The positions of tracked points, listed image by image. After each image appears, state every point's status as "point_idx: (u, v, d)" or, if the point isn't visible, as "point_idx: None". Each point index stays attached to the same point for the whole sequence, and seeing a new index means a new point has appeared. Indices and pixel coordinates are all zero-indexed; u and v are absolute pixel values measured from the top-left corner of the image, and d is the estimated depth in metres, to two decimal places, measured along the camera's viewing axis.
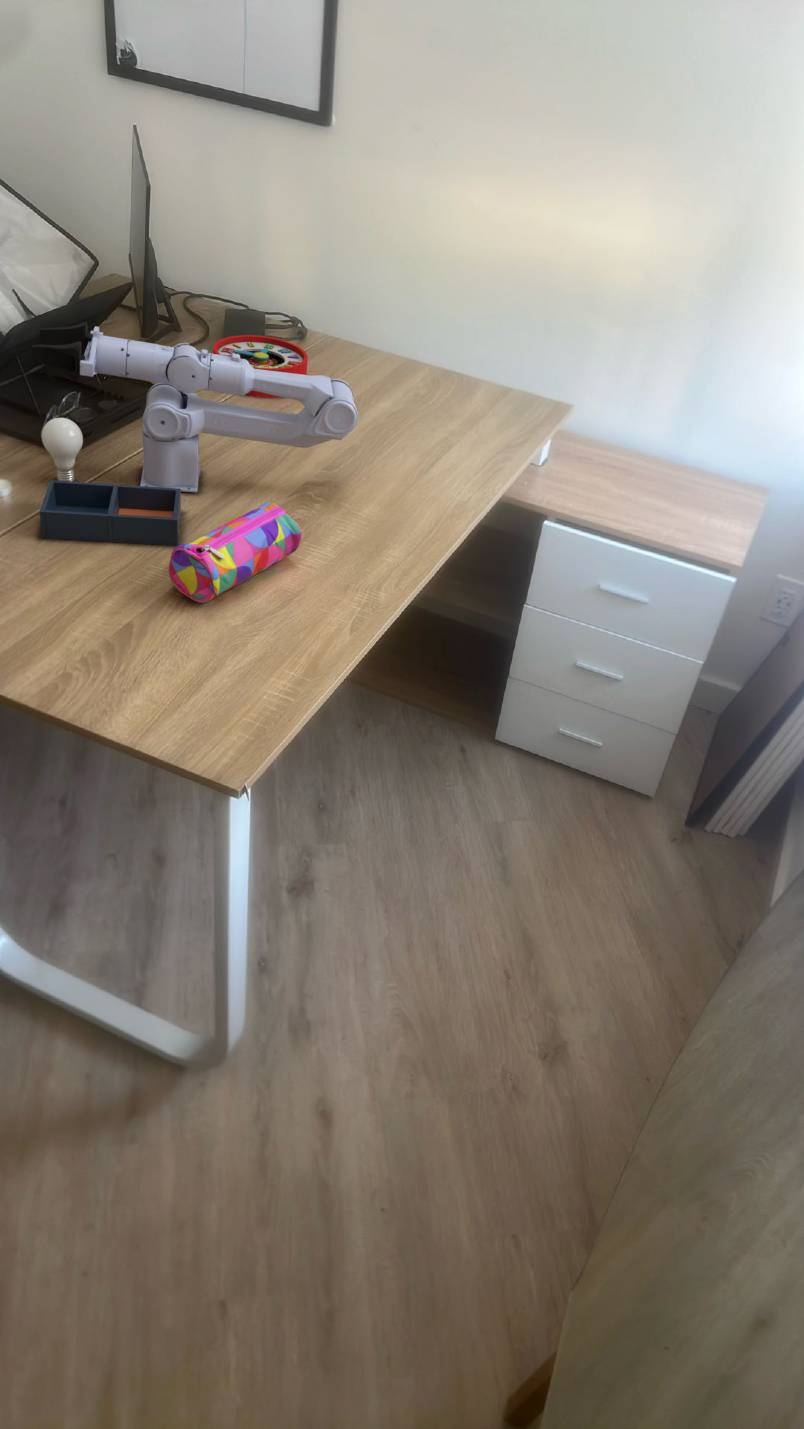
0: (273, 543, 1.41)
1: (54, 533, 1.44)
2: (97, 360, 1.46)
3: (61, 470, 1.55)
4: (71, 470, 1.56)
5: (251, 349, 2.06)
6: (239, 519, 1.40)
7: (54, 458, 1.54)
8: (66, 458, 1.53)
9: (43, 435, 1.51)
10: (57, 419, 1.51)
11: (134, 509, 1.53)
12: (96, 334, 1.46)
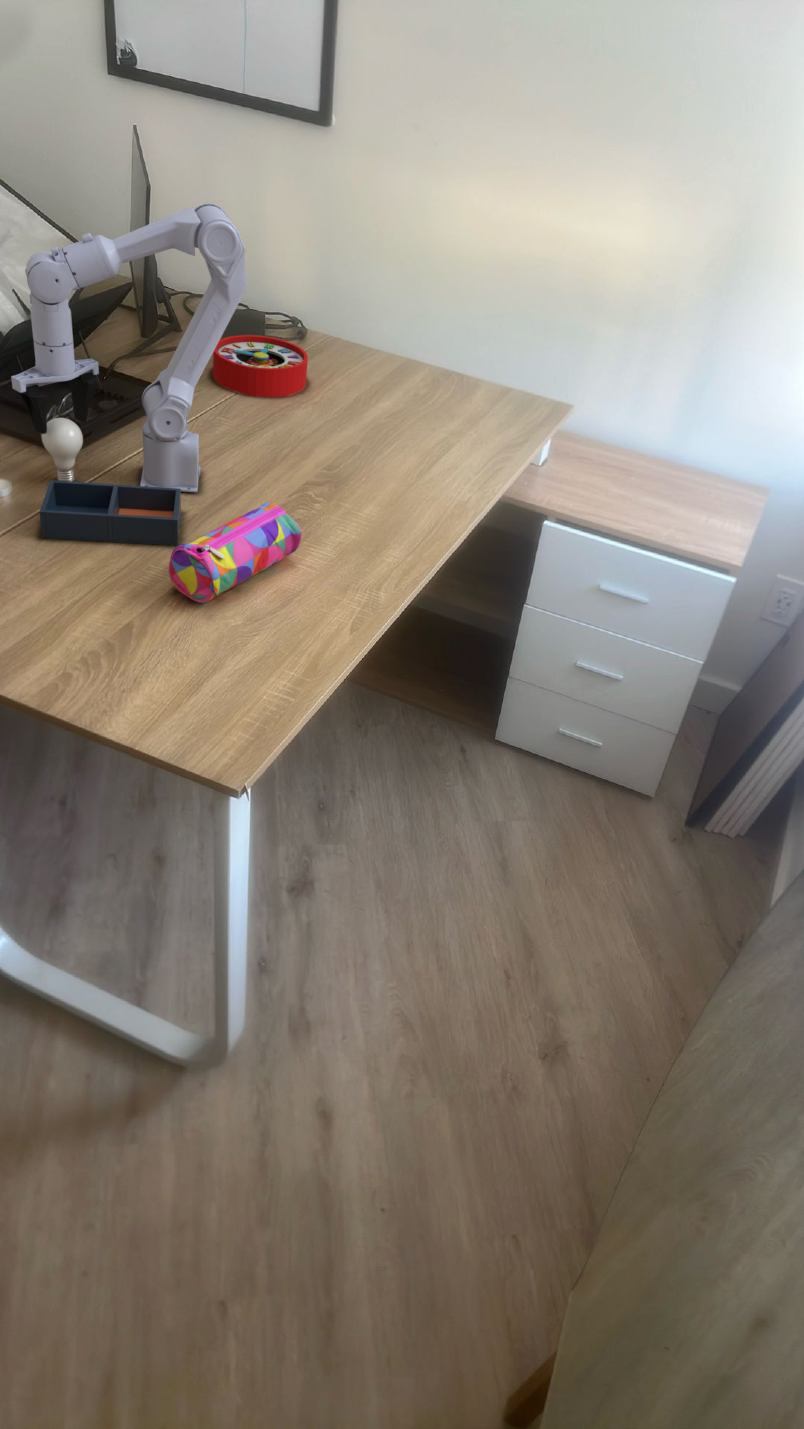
0: (273, 543, 1.41)
1: (54, 533, 1.44)
2: (40, 371, 1.44)
3: (61, 470, 1.55)
4: (71, 470, 1.56)
5: (251, 349, 2.06)
6: (239, 519, 1.40)
7: (54, 458, 1.54)
8: (66, 458, 1.53)
9: (43, 435, 1.51)
10: (57, 419, 1.51)
11: (134, 509, 1.53)
12: None
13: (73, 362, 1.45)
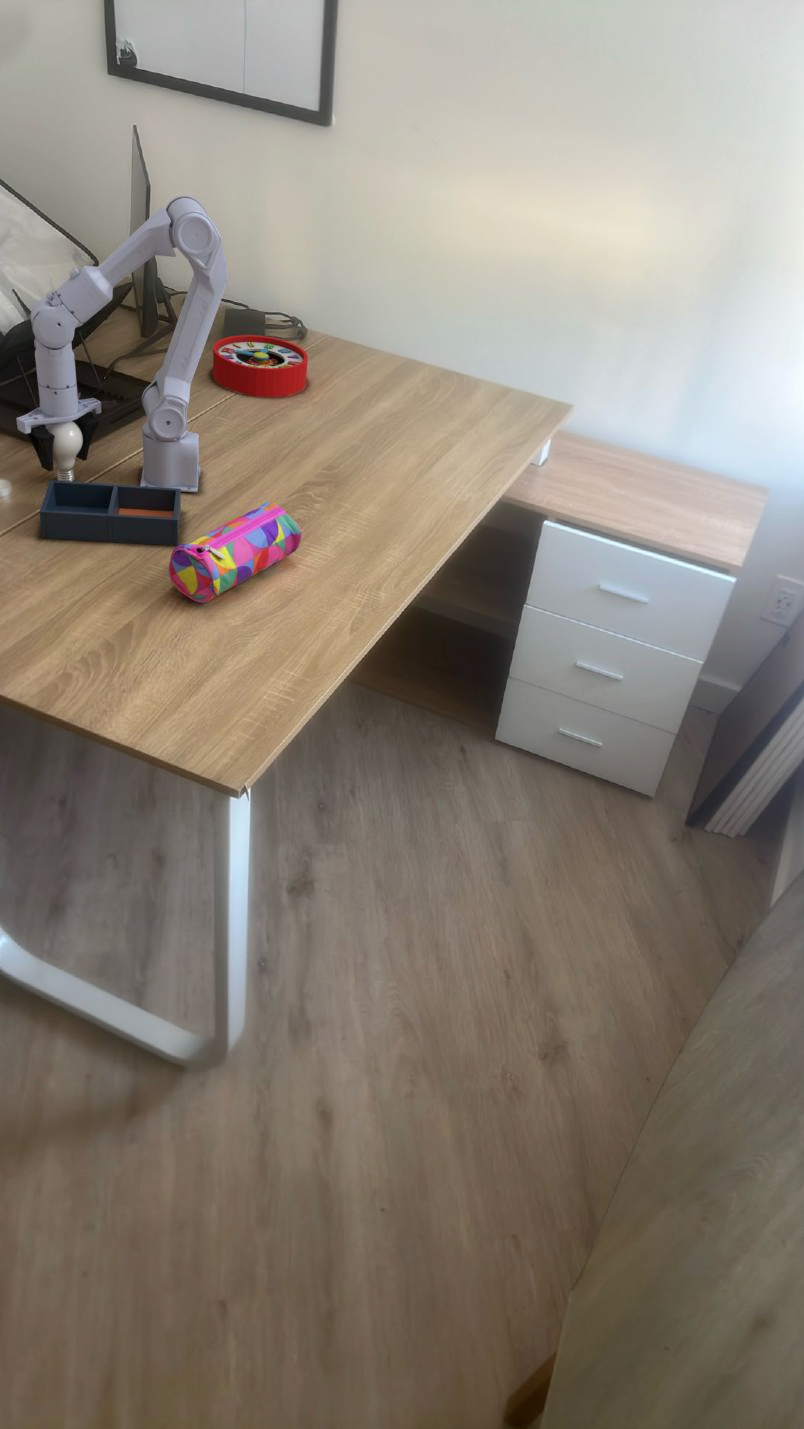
0: (273, 543, 1.41)
1: (54, 533, 1.44)
2: (44, 412, 1.48)
3: (61, 470, 1.55)
4: (71, 470, 1.56)
5: (251, 349, 2.06)
6: (239, 519, 1.40)
7: (54, 458, 1.54)
8: (66, 458, 1.53)
9: None
10: None
11: (134, 509, 1.53)
12: None
13: (76, 403, 1.49)
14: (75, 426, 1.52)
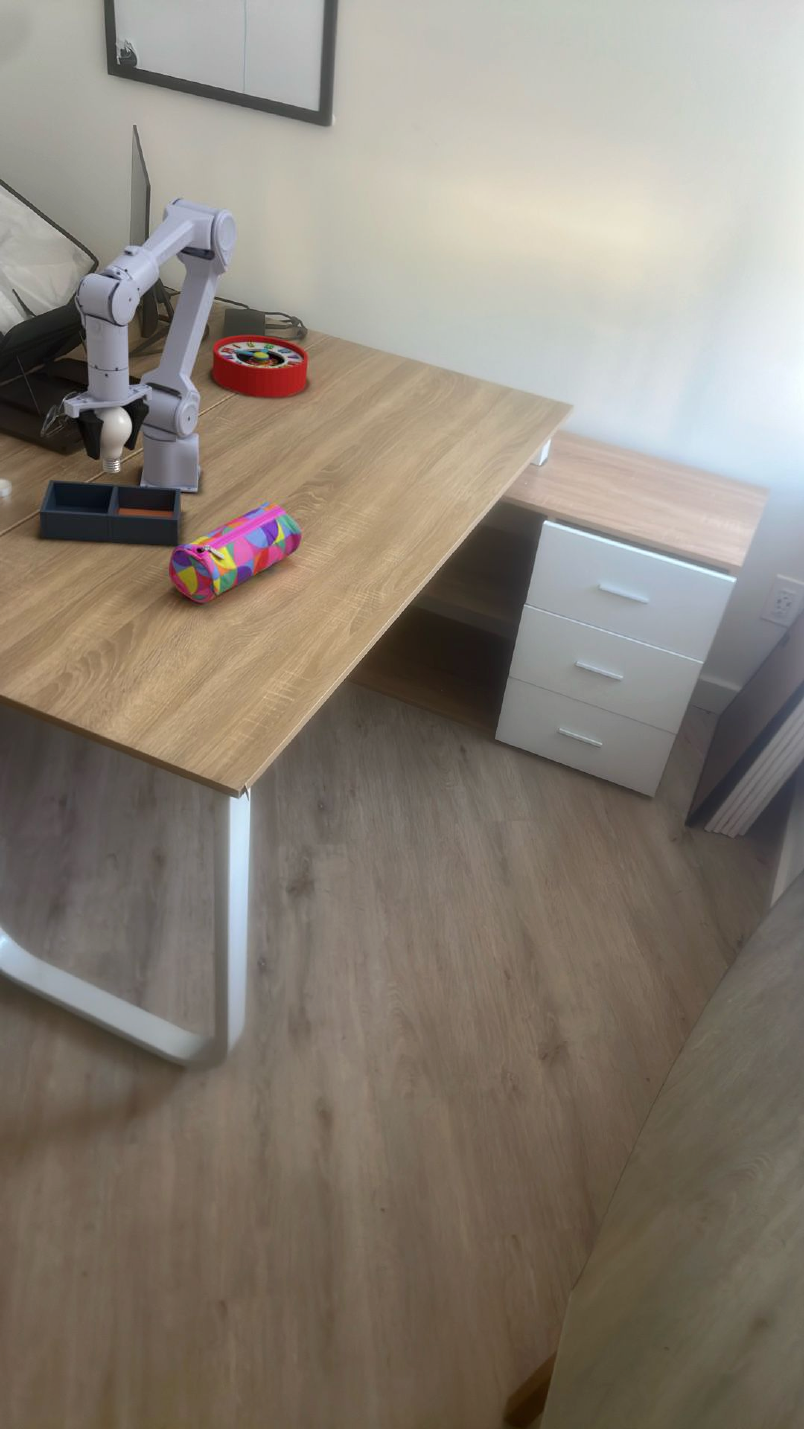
0: (273, 543, 1.41)
1: (54, 533, 1.44)
2: (93, 396, 1.39)
3: (107, 459, 1.46)
4: (118, 460, 1.46)
5: (251, 349, 2.06)
6: (239, 519, 1.40)
7: (101, 446, 1.44)
8: (114, 446, 1.44)
9: None
10: None
11: (134, 509, 1.53)
12: (89, 389, 1.41)
13: (128, 387, 1.40)
14: (125, 412, 1.42)
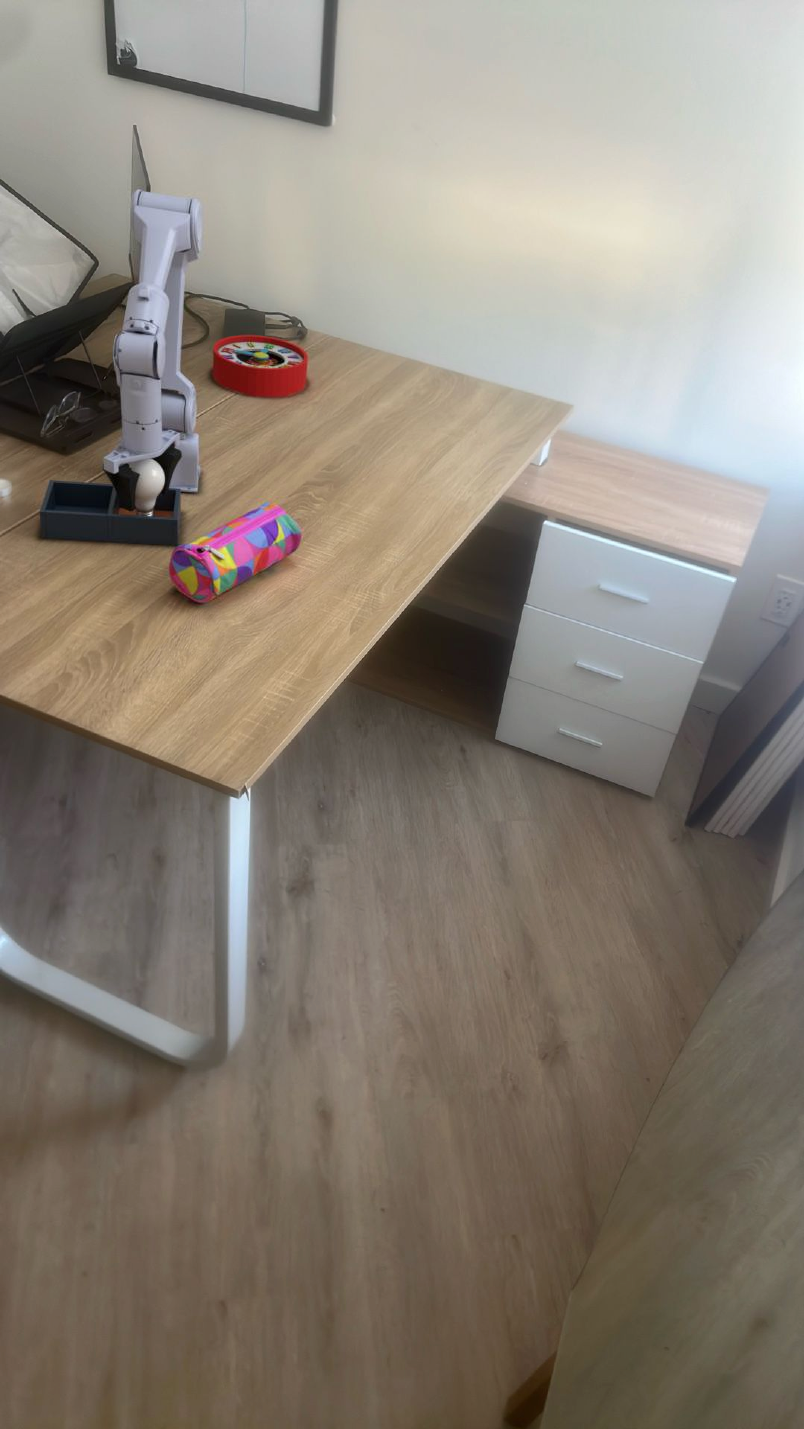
0: (273, 543, 1.41)
1: (54, 533, 1.44)
2: (129, 449, 1.40)
3: (142, 511, 1.47)
4: (152, 510, 1.48)
5: (251, 349, 2.06)
6: (239, 519, 1.40)
7: (136, 499, 1.46)
8: (149, 499, 1.46)
9: None
10: None
11: (134, 509, 1.53)
12: (120, 441, 1.42)
13: (161, 437, 1.41)
14: (158, 465, 1.44)
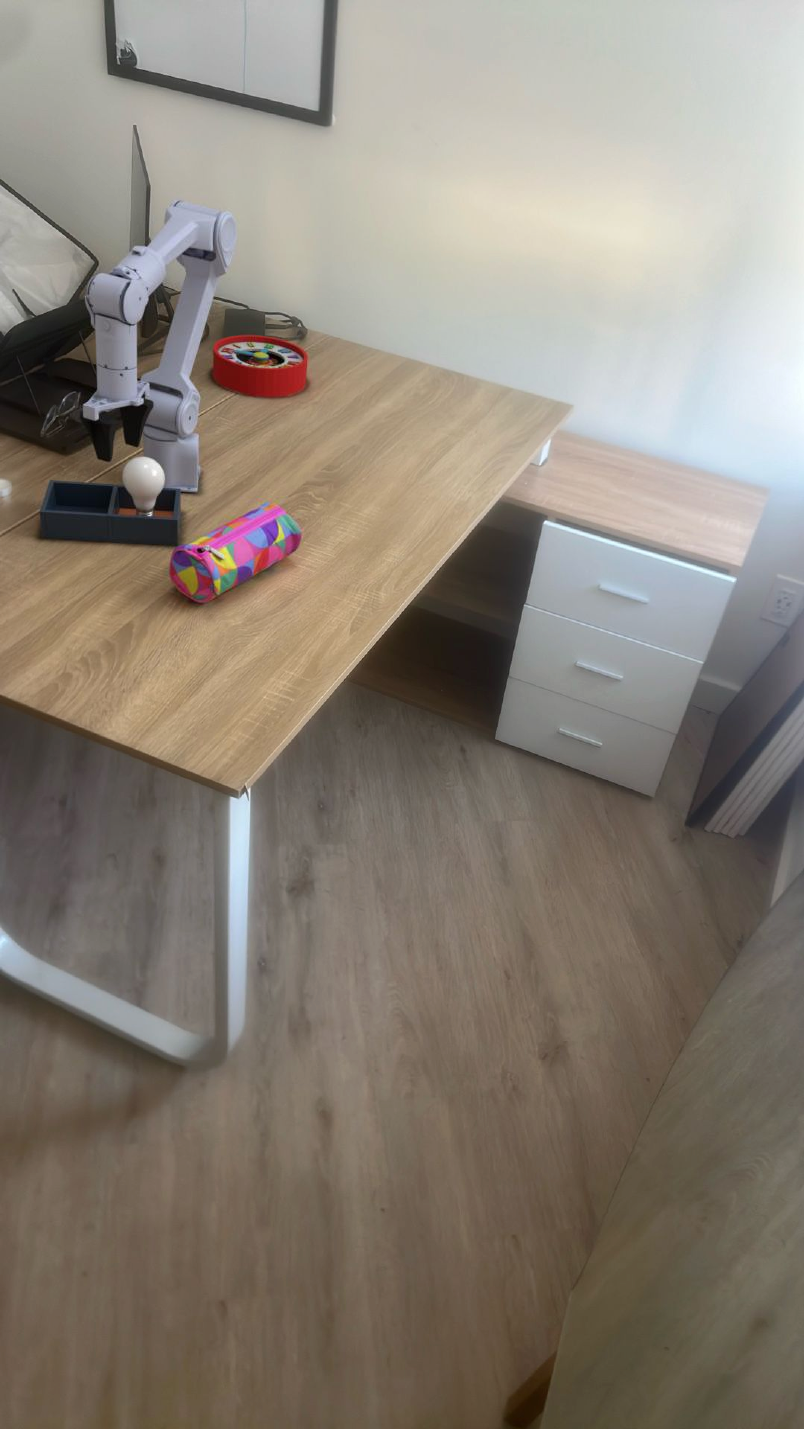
0: (273, 543, 1.41)
1: (54, 533, 1.44)
2: None
3: (142, 511, 1.47)
4: (152, 510, 1.48)
5: (251, 349, 2.06)
6: (239, 519, 1.40)
7: (136, 499, 1.46)
8: (149, 499, 1.46)
9: (126, 476, 1.43)
10: (139, 459, 1.43)
11: (134, 509, 1.53)
12: None
13: (97, 382, 1.39)
14: (158, 465, 1.44)
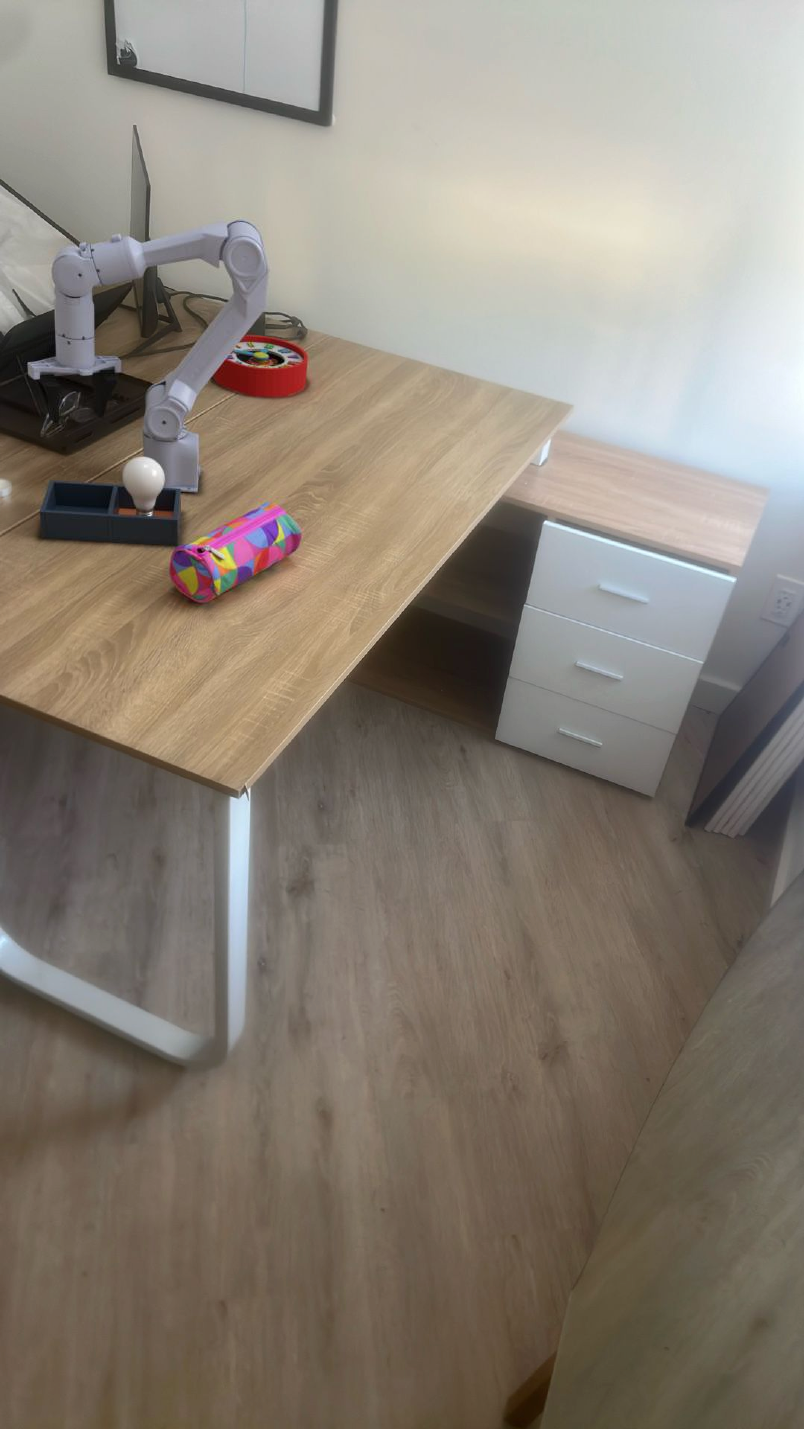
0: (273, 543, 1.41)
1: (54, 533, 1.44)
2: None
3: (142, 511, 1.47)
4: (152, 510, 1.48)
5: (251, 349, 2.06)
6: (239, 519, 1.40)
7: (136, 499, 1.46)
8: (149, 499, 1.46)
9: (126, 476, 1.43)
10: (139, 459, 1.43)
11: (134, 509, 1.53)
12: None
13: None
14: (158, 465, 1.44)
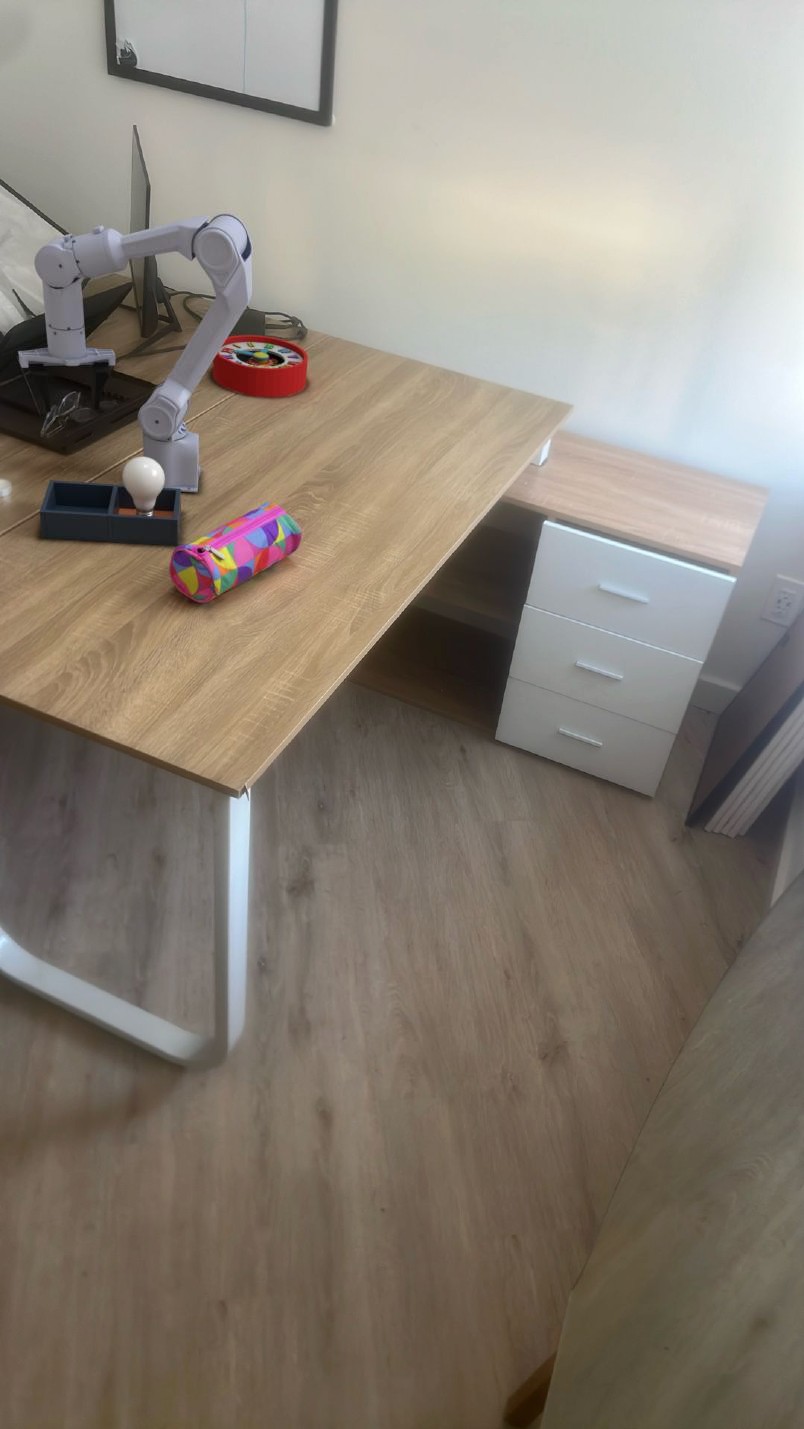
0: (273, 543, 1.41)
1: (54, 533, 1.44)
2: (85, 351, 1.52)
3: (142, 511, 1.47)
4: (152, 510, 1.48)
5: (251, 349, 2.06)
6: (239, 519, 1.40)
7: (136, 499, 1.46)
8: (149, 499, 1.46)
9: (126, 476, 1.43)
10: (139, 459, 1.43)
11: (134, 509, 1.53)
12: (78, 361, 1.49)
13: None
14: (158, 465, 1.44)
